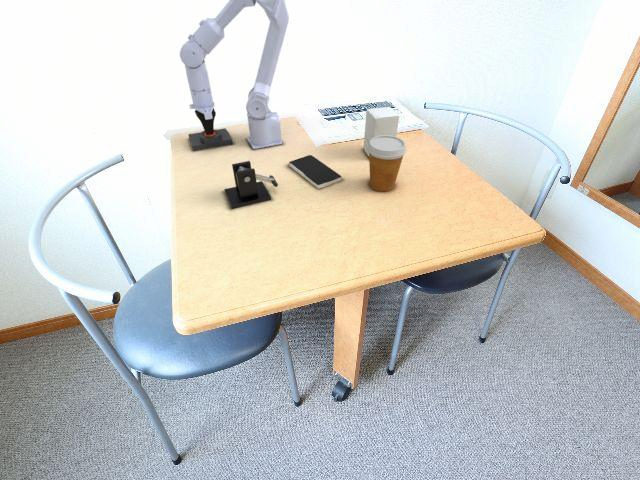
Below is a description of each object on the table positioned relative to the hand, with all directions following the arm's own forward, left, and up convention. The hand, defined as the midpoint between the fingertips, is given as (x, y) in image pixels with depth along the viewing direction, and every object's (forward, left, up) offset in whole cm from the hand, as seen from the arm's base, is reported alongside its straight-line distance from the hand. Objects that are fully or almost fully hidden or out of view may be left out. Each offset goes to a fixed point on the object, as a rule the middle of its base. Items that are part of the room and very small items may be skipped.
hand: (209, 133), depth 113 cm
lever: (-6, +33, 0) cm, 33 cm away
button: (0, 0, -2) cm, 2 cm away
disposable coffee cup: (-37, +42, -4) cm, 56 cm away
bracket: (-3, +33, -3) cm, 33 cm away
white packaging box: (-45, +26, -4) cm, 52 cm away
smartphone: (-23, +29, -4) cm, 37 cm away
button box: (0, -2, -3) cm, 4 cm away
